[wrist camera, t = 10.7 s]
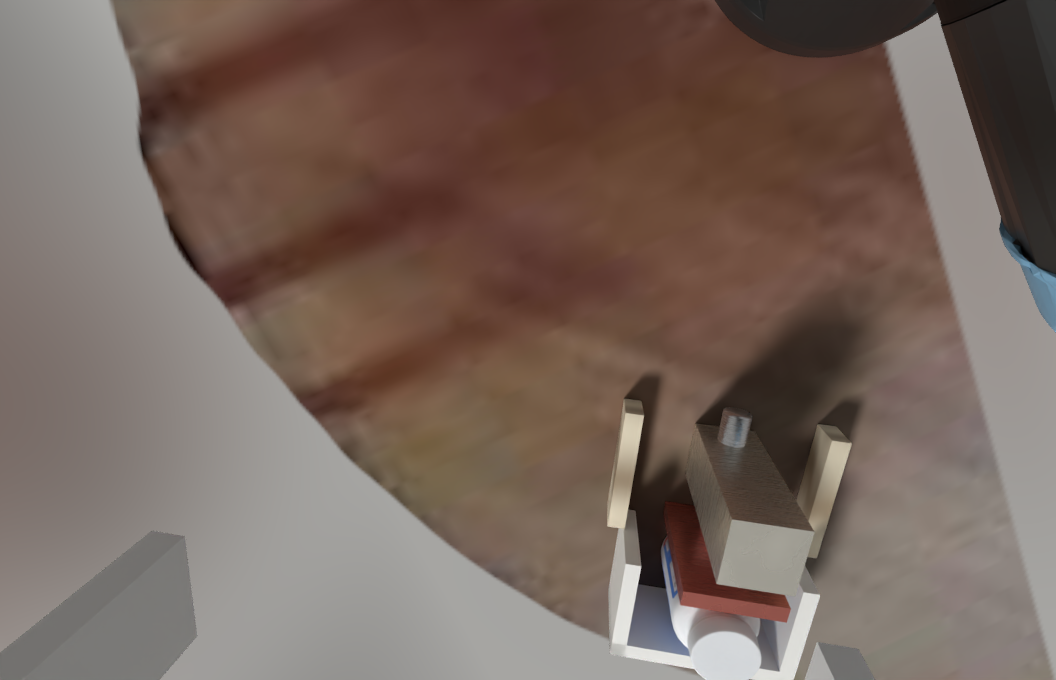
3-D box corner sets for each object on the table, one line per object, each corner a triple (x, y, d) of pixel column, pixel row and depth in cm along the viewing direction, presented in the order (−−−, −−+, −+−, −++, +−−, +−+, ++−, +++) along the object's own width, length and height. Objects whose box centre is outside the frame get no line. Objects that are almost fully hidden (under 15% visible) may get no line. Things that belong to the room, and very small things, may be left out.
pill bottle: (727, 584, 41) (764, 703, 32) (655, 574, 42) (671, 689, 33) (740, 523, 40) (783, 630, 30) (665, 513, 40) (685, 616, 31)
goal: (621, 508, 40) (625, 563, 35) (788, 533, 39) (820, 594, 34) (608, 589, 43) (609, 654, 37) (765, 615, 42) (791, 686, 36)
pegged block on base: (685, 394, 37) (719, 482, 27) (776, 406, 37) (846, 500, 26) (663, 512, 40) (685, 632, 30) (746, 525, 40) (799, 652, 29)
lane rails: (623, 398, 38) (625, 413, 36) (836, 426, 37) (852, 443, 34) (607, 506, 41) (607, 526, 38) (804, 535, 39) (816, 558, 37)
